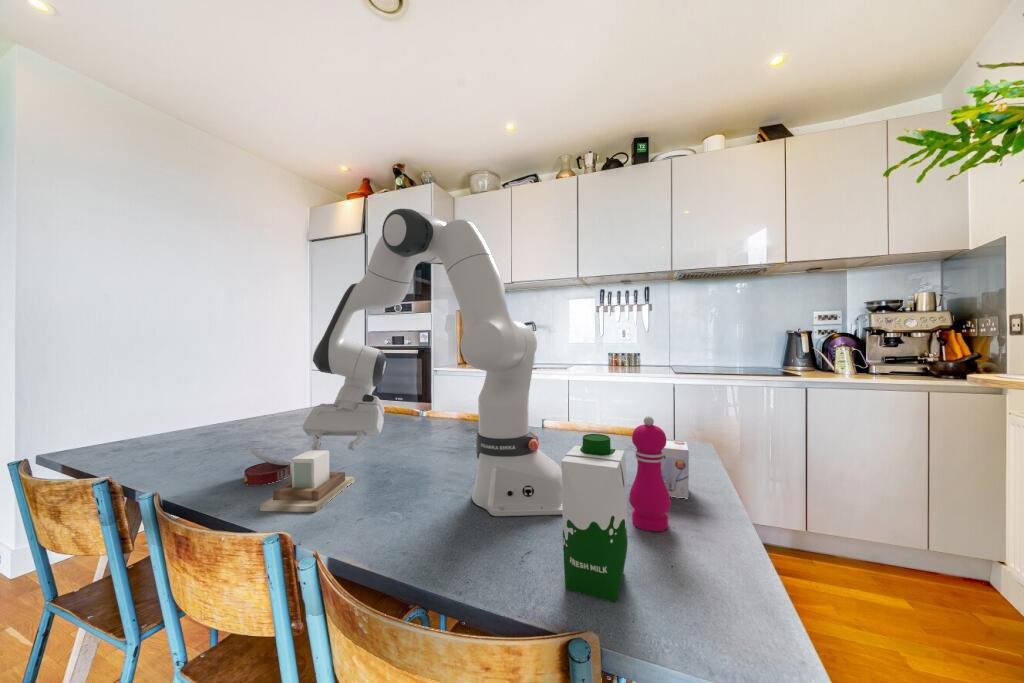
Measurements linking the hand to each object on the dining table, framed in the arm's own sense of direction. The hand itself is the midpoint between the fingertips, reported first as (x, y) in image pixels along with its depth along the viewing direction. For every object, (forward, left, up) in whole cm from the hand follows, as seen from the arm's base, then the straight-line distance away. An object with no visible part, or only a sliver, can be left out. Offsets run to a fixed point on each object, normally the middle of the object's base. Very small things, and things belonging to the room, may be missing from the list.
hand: (333, 449), depth 93 cm
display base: (-1, +10, -7) cm, 12 cm away
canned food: (+17, +2, -8) cm, 19 cm away
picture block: (-1, +10, -6) cm, 12 cm away
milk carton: (-63, +31, -8) cm, 70 cm away
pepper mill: (-74, +13, -8) cm, 75 cm away
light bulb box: (-80, -3, -8) cm, 80 cm away
